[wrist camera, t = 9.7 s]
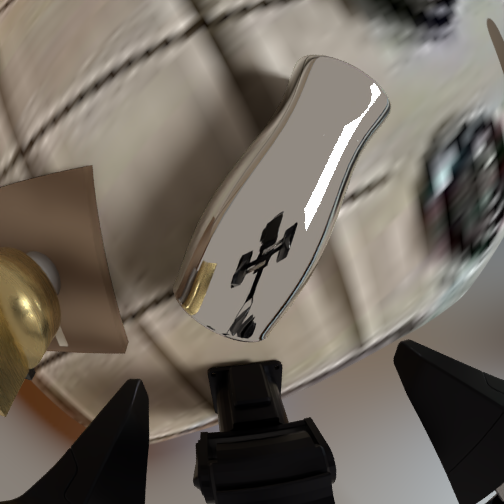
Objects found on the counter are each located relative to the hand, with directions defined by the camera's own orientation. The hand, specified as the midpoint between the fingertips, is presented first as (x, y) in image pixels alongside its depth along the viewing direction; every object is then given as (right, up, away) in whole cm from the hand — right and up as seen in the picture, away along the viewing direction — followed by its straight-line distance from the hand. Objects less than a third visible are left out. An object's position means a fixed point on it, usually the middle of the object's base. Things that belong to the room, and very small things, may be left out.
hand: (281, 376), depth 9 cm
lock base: (-17, +3, +9) cm, 19 cm away
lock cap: (-16, 0, +5) cm, 17 cm away
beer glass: (+4, +14, +5) cm, 15 cm away
